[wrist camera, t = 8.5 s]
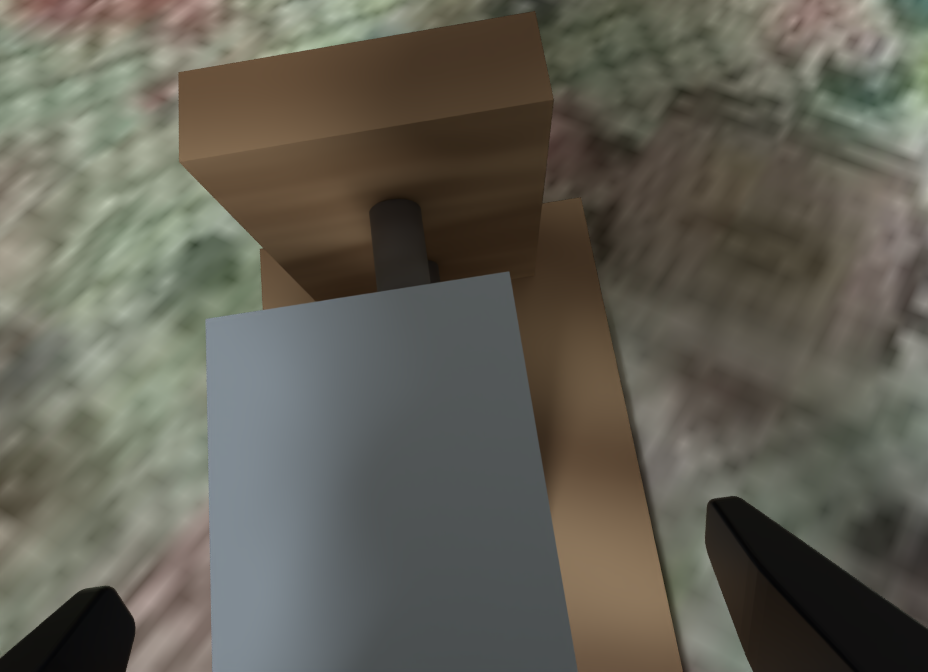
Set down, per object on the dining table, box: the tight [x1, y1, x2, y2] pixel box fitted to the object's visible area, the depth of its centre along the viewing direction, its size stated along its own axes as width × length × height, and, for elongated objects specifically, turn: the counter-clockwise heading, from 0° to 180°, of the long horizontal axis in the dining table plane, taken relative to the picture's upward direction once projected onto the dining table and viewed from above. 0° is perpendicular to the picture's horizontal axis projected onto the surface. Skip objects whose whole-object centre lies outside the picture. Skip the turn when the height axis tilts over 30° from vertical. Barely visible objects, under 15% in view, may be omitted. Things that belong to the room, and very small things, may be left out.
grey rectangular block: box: [206, 272, 578, 672], centre depth 12 cm, size 5×4×11 cm
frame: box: [179, 11, 683, 672], centre depth 14 cm, size 16×11×10 cm
